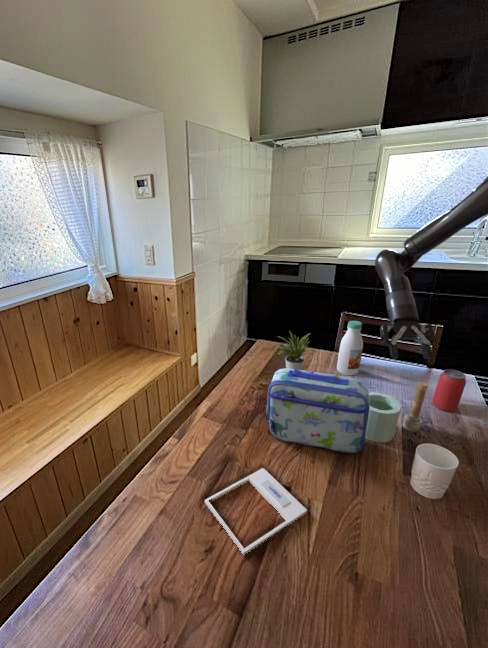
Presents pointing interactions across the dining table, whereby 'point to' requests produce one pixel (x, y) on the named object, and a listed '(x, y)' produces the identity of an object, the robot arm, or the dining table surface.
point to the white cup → (432, 470)
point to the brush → (416, 409)
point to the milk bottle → (350, 350)
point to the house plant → (294, 352)
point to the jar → (382, 417)
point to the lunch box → (318, 410)
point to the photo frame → (273, 494)
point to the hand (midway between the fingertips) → (411, 358)
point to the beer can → (449, 390)
